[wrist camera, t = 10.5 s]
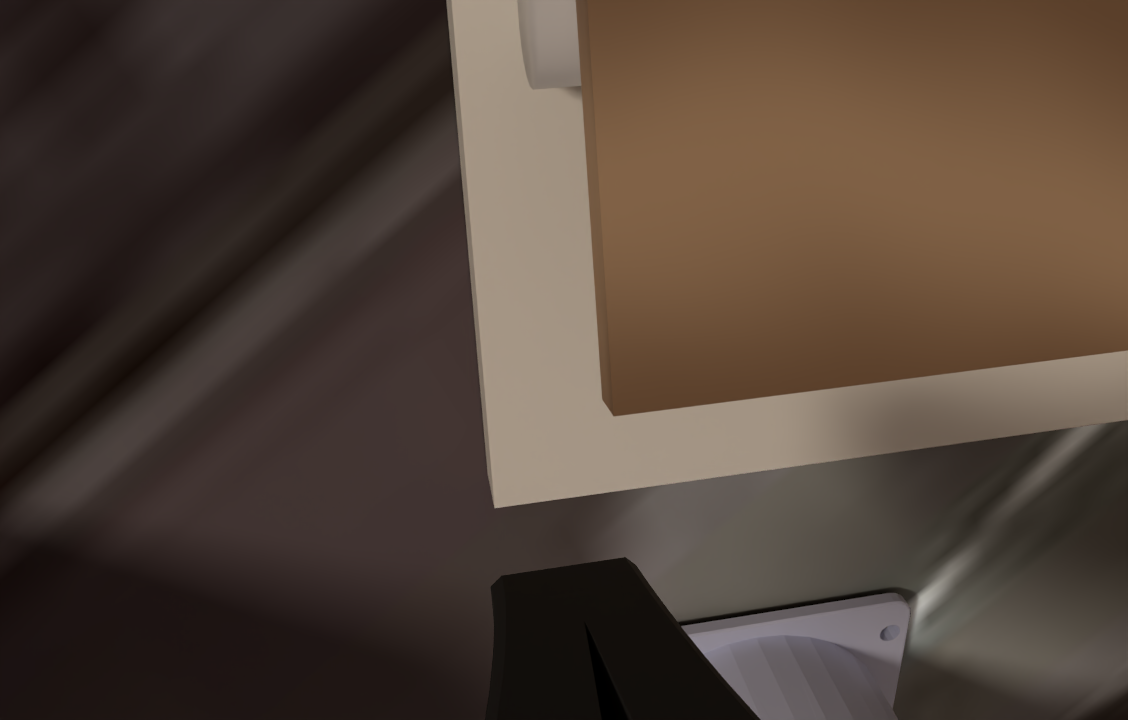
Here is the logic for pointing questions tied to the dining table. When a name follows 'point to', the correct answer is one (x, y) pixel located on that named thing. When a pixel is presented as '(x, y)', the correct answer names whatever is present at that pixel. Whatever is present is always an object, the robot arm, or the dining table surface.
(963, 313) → the panel
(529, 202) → the panel
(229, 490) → the dining table surface
